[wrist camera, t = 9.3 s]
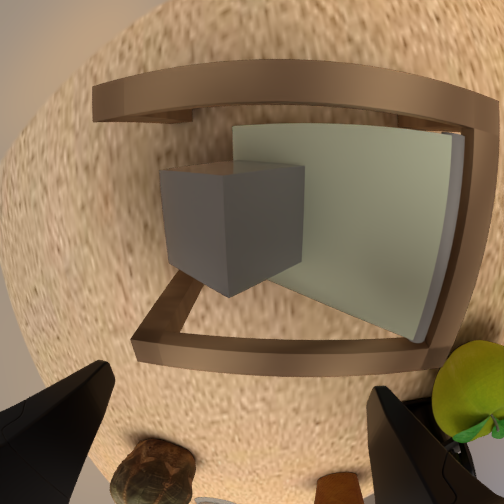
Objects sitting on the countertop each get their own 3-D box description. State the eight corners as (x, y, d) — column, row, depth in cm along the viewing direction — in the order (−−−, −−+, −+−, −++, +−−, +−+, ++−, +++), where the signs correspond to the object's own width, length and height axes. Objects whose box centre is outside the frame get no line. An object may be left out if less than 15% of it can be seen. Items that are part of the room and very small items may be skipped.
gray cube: (304, 165, 13) (222, 175, 10) (301, 261, 15) (228, 298, 12) (235, 160, 17) (159, 170, 13) (237, 239, 19) (168, 263, 15)
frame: (417, 108, 15) (498, 101, 7) (397, 289, 20) (442, 367, 12) (169, 101, 16) (92, 86, 9) (184, 284, 21) (137, 361, 14)
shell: (116, 427, 32) (85, 491, 21) (182, 435, 30) (157, 514, 19) (150, 463, 36) (130, 519, 25) (211, 470, 34) (196, 535, 23)
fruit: (459, 392, 24) (487, 457, 14) (404, 383, 23) (430, 466, 14) (508, 329, 20) (553, 391, 11) (459, 309, 20) (515, 387, 11)
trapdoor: (465, 137, 8) (463, 135, 8) (427, 334, 12) (421, 345, 11) (244, 124, 17) (232, 124, 16) (247, 263, 20) (236, 267, 19)
